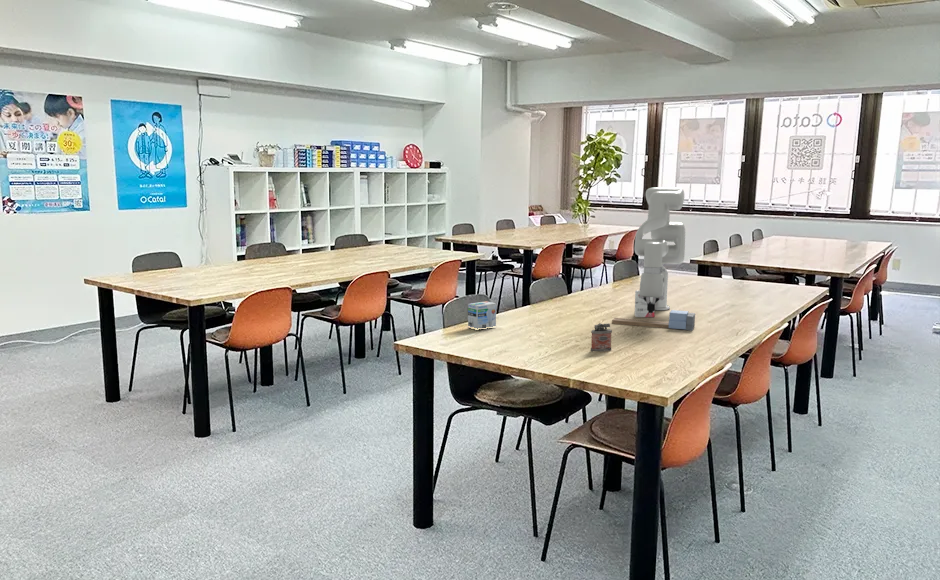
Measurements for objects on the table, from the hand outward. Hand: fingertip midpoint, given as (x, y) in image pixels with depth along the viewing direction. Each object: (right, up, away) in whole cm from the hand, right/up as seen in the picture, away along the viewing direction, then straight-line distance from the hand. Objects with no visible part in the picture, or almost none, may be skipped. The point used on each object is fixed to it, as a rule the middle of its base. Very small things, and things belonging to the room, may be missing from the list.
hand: (650, 312), depth 305 cm
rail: (+1, -6, 0) cm, 6 cm away
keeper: (+11, -6, -5) cm, 13 cm away
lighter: (-30, -13, -45) cm, 56 cm away
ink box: (+2, -3, +21) cm, 21 cm away
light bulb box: (-73, -7, -7) cm, 74 cm away
